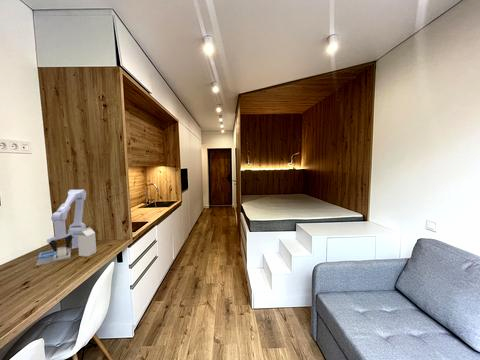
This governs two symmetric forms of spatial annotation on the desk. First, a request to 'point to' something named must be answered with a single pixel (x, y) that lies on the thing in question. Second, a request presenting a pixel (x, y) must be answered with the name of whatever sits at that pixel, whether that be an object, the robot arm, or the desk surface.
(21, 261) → the desk surface
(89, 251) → the milk carton
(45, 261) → the duct panel
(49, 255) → the blue bezel
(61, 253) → the plug
